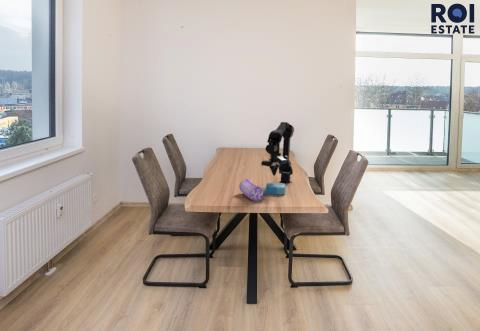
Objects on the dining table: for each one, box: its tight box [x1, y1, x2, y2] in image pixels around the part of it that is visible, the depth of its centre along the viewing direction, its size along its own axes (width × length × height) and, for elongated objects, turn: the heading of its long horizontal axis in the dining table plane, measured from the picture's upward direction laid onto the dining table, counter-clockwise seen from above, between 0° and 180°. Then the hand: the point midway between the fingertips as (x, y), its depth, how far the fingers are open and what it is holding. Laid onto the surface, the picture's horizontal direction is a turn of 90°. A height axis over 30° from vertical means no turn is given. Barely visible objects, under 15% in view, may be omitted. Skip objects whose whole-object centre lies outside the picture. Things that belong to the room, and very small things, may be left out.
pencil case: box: [238, 178, 266, 202], centre depth 265 cm, size 22×9×10 cm, turn 21°
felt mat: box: [260, 187, 273, 196], centre depth 281 cm, size 12×16×1 cm
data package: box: [265, 182, 286, 196], centre depth 279 cm, size 12×4×12 cm
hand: (274, 175), depth 284 cm, fingers closed
